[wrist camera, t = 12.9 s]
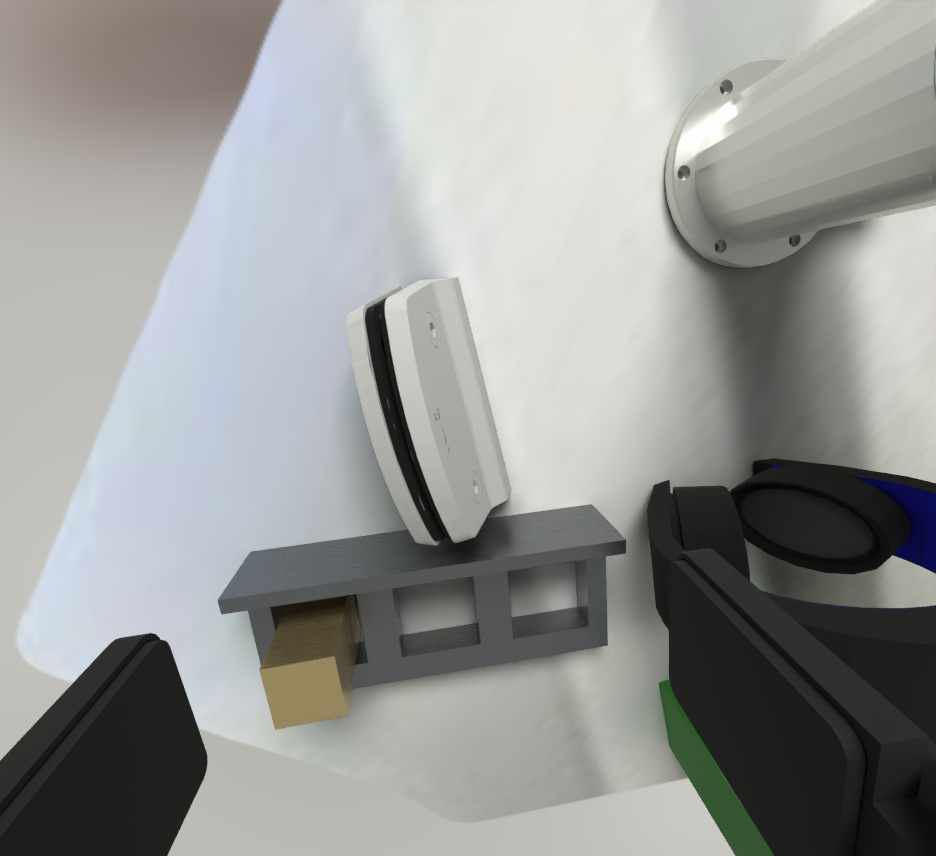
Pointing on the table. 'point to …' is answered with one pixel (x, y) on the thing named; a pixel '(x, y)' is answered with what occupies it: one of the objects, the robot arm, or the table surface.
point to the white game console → (428, 409)
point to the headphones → (821, 559)
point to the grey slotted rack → (409, 563)
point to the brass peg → (312, 662)
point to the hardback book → (710, 780)
